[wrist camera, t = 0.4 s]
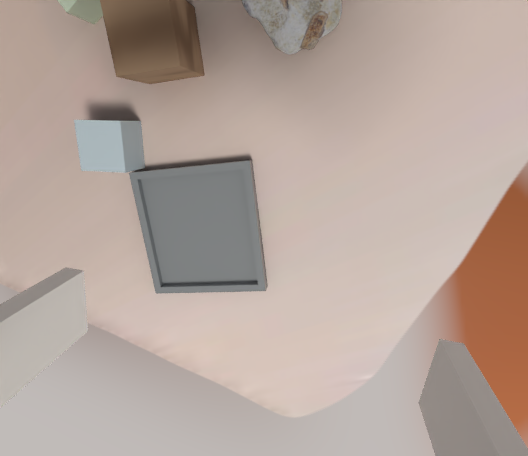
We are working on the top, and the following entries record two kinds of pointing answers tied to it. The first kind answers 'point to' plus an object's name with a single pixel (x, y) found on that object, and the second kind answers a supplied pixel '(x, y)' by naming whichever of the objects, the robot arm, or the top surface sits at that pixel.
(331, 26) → the stone
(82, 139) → the block bluegrey
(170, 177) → the tray
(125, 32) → the block walnut
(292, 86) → the top surface
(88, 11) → the block sage
